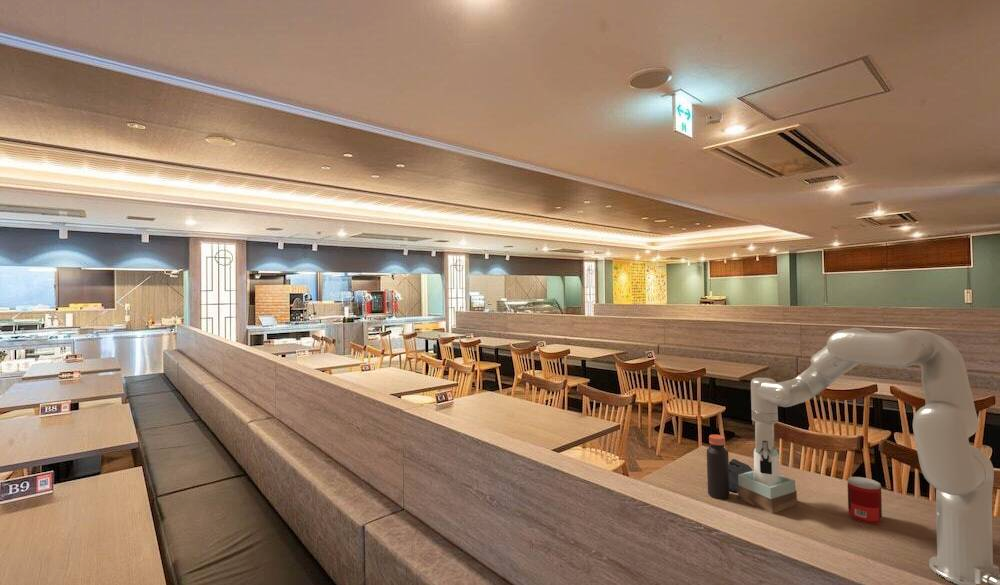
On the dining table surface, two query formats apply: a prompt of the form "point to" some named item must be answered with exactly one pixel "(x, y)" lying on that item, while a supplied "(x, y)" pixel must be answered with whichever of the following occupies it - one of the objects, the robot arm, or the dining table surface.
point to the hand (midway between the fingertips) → (766, 467)
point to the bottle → (718, 468)
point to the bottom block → (767, 500)
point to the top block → (770, 492)
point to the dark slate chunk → (736, 473)
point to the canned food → (864, 500)
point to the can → (762, 477)
